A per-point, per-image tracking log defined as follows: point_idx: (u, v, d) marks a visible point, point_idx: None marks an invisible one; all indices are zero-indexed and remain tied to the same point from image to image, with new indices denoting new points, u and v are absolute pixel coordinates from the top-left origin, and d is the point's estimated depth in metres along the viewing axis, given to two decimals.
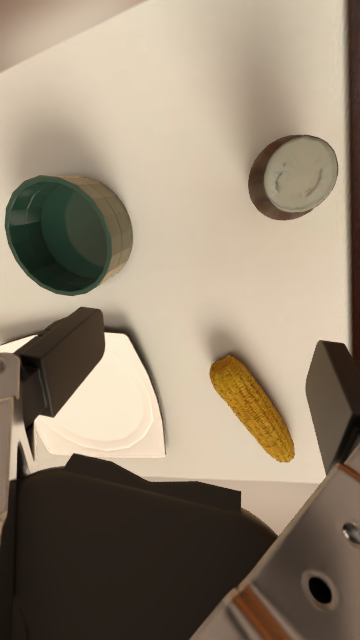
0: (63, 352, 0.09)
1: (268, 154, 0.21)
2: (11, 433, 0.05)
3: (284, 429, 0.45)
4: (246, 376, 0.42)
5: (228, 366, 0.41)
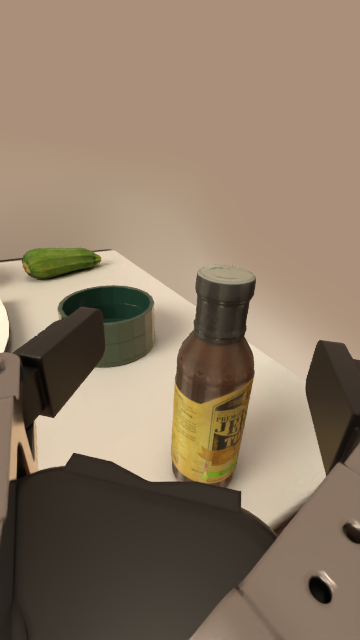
0: (63, 352, 0.09)
1: None
2: (11, 433, 0.05)
3: None
4: None
5: None
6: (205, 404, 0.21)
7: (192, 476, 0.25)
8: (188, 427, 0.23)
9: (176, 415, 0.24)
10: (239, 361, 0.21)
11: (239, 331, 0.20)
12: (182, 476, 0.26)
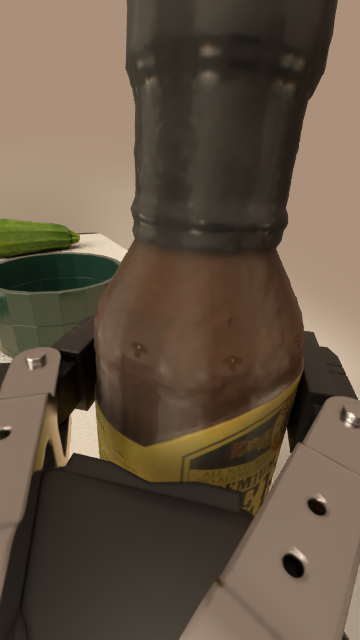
0: None
1: None
2: (40, 431, 0.05)
3: None
4: None
5: None
6: (158, 450, 0.07)
7: None
8: None
9: None
10: (268, 315, 0.06)
11: (270, 208, 0.06)
12: None
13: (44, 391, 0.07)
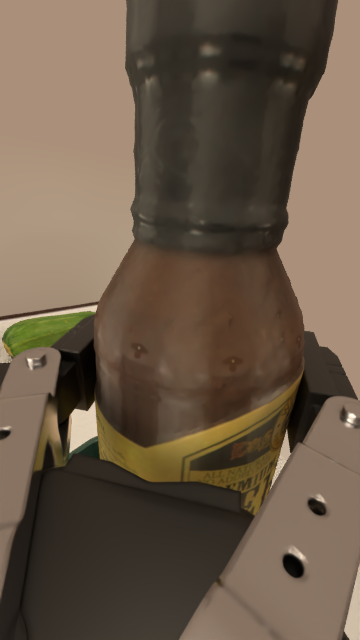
0: None
1: None
2: (40, 431, 0.05)
3: None
4: None
5: None
6: (158, 451, 0.07)
7: None
8: None
9: None
10: (268, 315, 0.06)
11: (271, 209, 0.06)
12: None
13: (44, 391, 0.07)
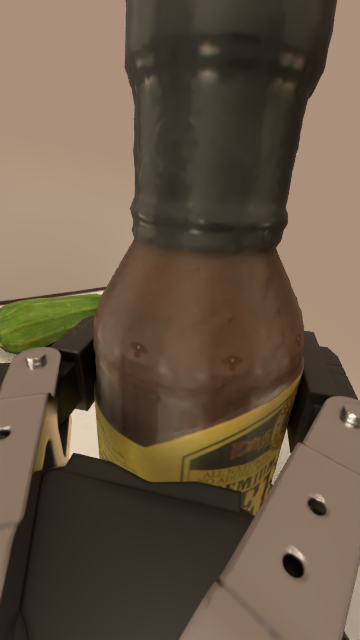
0: None
1: None
2: (40, 431, 0.05)
3: None
4: None
5: None
6: (158, 451, 0.07)
7: None
8: None
9: None
10: (268, 314, 0.06)
11: (270, 208, 0.06)
12: None
13: (44, 391, 0.07)
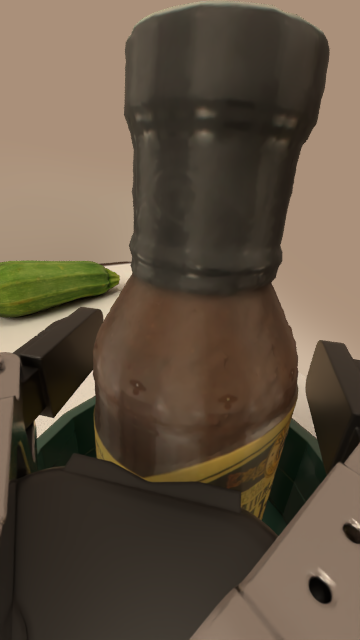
0: (63, 352, 0.09)
1: None
2: (11, 433, 0.05)
3: None
4: None
5: None
6: None
7: None
8: None
9: None
10: (263, 352, 0.07)
11: (265, 252, 0.06)
12: None
13: (7, 396, 0.06)
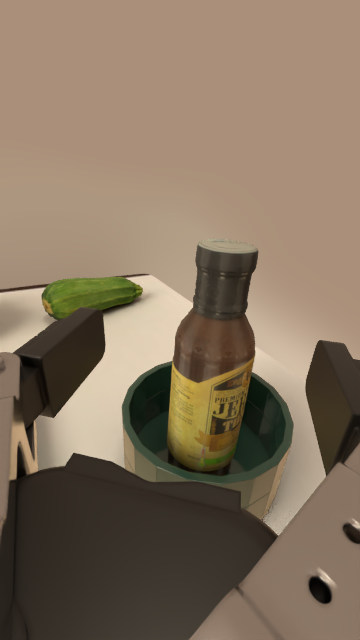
0: (63, 352, 0.09)
1: None
2: (11, 434, 0.05)
3: None
4: None
5: None
6: (203, 384, 0.20)
7: (188, 463, 0.24)
8: (185, 410, 0.22)
9: (173, 398, 0.23)
10: (240, 338, 0.20)
11: (240, 306, 0.20)
12: (178, 464, 0.25)
13: (7, 396, 0.06)
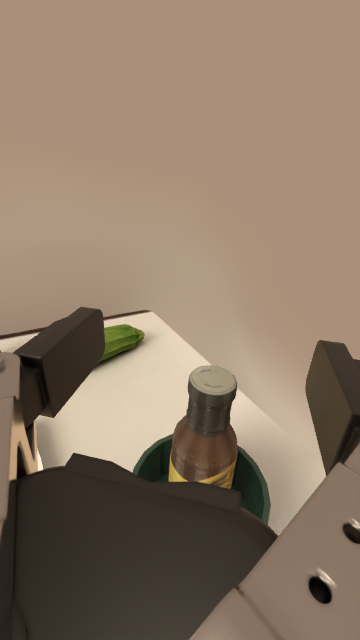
0: (63, 352, 0.09)
1: None
2: (11, 433, 0.05)
3: None
4: None
5: None
6: None
7: None
8: None
9: None
10: (223, 449, 0.25)
11: (223, 425, 0.25)
12: None
13: (7, 396, 0.06)
